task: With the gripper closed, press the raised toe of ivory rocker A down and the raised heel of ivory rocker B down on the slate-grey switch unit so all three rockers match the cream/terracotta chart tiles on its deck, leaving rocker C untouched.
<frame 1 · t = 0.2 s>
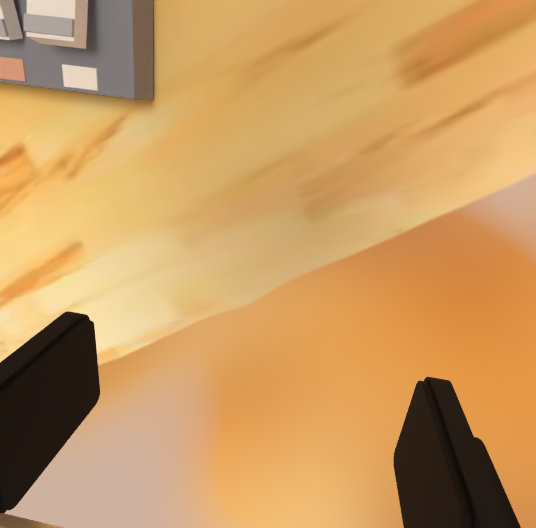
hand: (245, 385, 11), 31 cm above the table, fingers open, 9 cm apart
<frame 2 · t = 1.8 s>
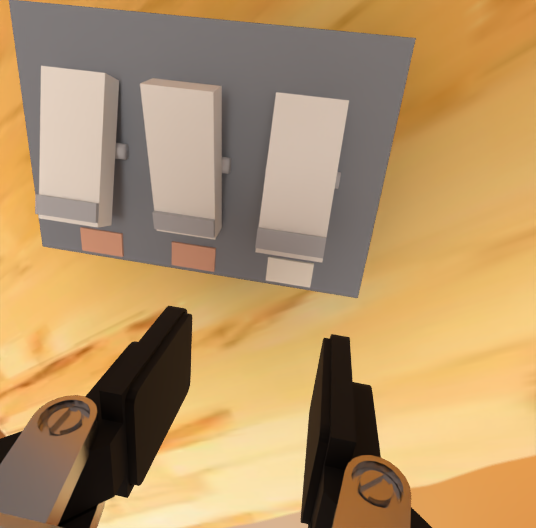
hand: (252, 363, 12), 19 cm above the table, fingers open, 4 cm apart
switch unit: (214, 152, 29), on the table
rocker C: (76, 150, 24), point 6 cm above the table, hinge at -12.0°
rocker A: (300, 180, 23), point 6 cm above the table, hinge at -12.0°
rocker B: (185, 165, 23), point 6 cm above the table, hinge at 12.0°
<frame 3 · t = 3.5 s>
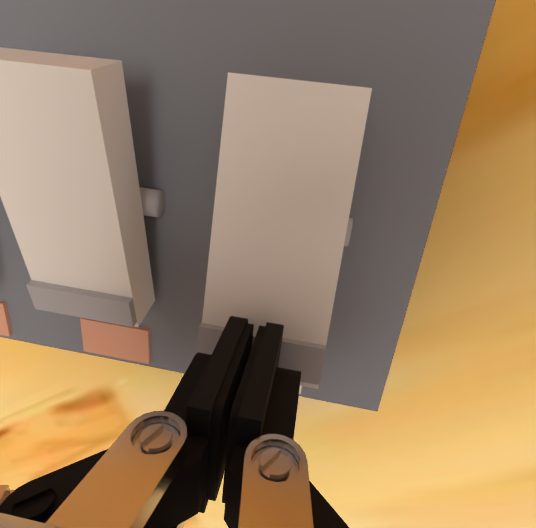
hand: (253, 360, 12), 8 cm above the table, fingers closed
switch unit: (152, 174, 19), on the table
rocker A: (278, 237, 12), point 6 cm above the table, hinge at -11.9°, touching gripper
rocker B: (72, 208, 13), point 6 cm above the table, hinge at 12.0°
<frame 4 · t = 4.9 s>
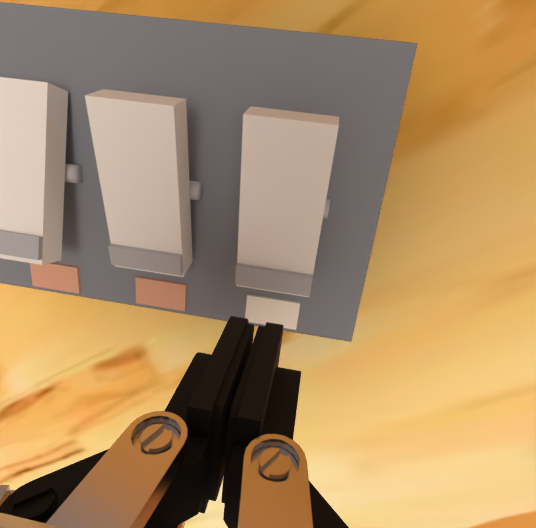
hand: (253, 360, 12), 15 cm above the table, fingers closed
switch unit: (185, 173, 25), on the table
rocker C: (17, 173, 20), point 6 cm above the table, hinge at -12.0°
rocker A: (281, 211, 19), point 6 cm above the table, hinge at 11.6°
rocker B: (145, 192, 20), point 6 cm above the table, hinge at 12.0°
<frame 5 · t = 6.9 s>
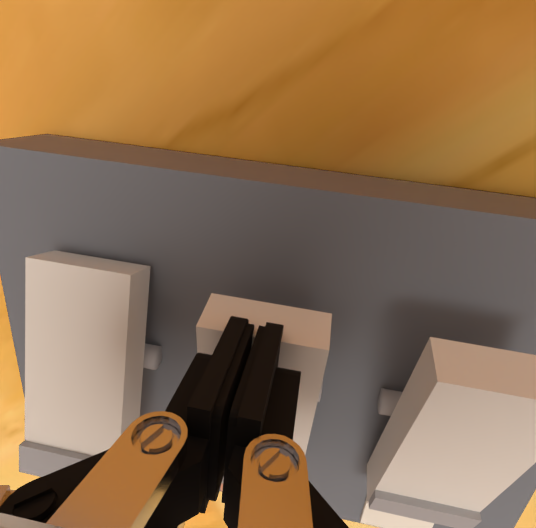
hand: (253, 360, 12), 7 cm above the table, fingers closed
switch unit: (280, 323, 20), on the table
rocker C: (83, 373, 15), point 6 cm above the table, hinge at -12.0°
rocker A: (450, 449, 14), point 6 cm above the table, hinge at 16.2°, touching switch unit
rocker B: (257, 409, 15), point 6 cm above the table, hinge at 11.7°, touching gripper
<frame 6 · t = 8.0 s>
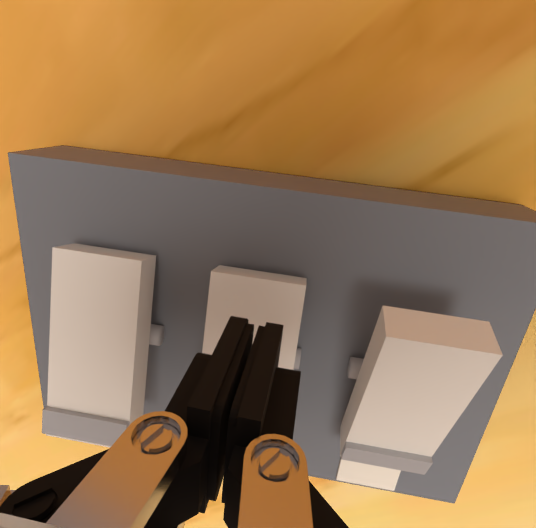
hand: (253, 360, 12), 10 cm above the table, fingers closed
switch unit: (265, 309, 23), on the table
rocker C: (98, 347, 18), point 6 cm above the table, hinge at -12.0°
rocker A: (404, 401, 17), point 6 cm above the table, hinge at 16.5°, touching switch unit
rocker B: (247, 372, 17), point 6 cm above the table, hinge at -12.3°
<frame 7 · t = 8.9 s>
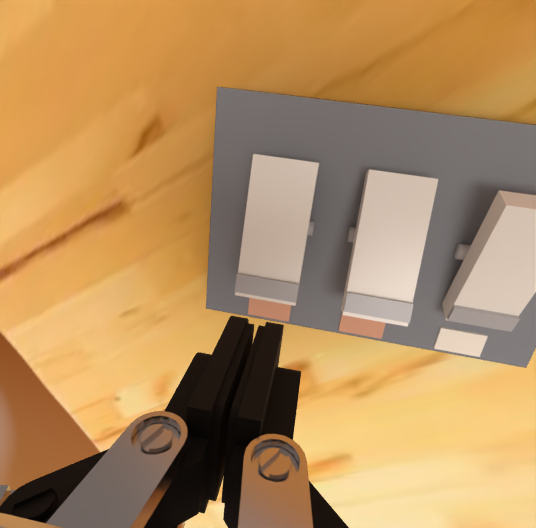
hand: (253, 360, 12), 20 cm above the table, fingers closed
switch unit: (377, 220, 30), on the table
rocker C: (276, 231, 25), point 6 cm above the table, hinge at -12.0°
rocker A: (504, 268, 23), point 6 cm above the table, hinge at 16.6°, touching switch unit
rocker B: (386, 248, 24), point 6 cm above the table, hinge at -16.2°, touching switch unit
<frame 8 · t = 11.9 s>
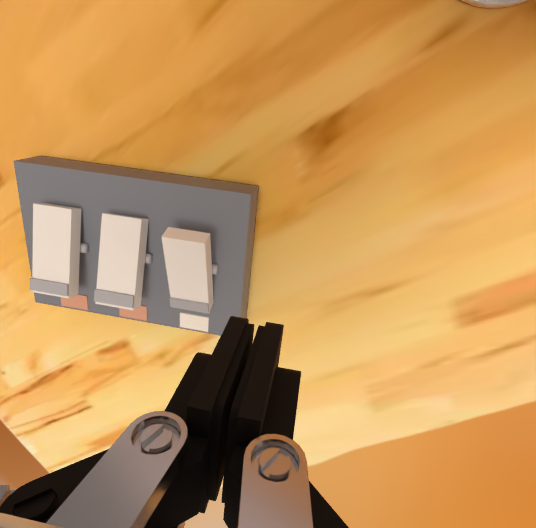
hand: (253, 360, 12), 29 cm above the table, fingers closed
switch unit: (148, 241, 44), on the table
rocker C: (55, 250, 39), point 6 cm above the table, hinge at -12.0°
rocker A: (189, 273, 38), point 6 cm above the table, hinge at 16.6°, touching switch unit
rocker B: (121, 261, 38), point 6 cm above the table, hinge at -14.9°
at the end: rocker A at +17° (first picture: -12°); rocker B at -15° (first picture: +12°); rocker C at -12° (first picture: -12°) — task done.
